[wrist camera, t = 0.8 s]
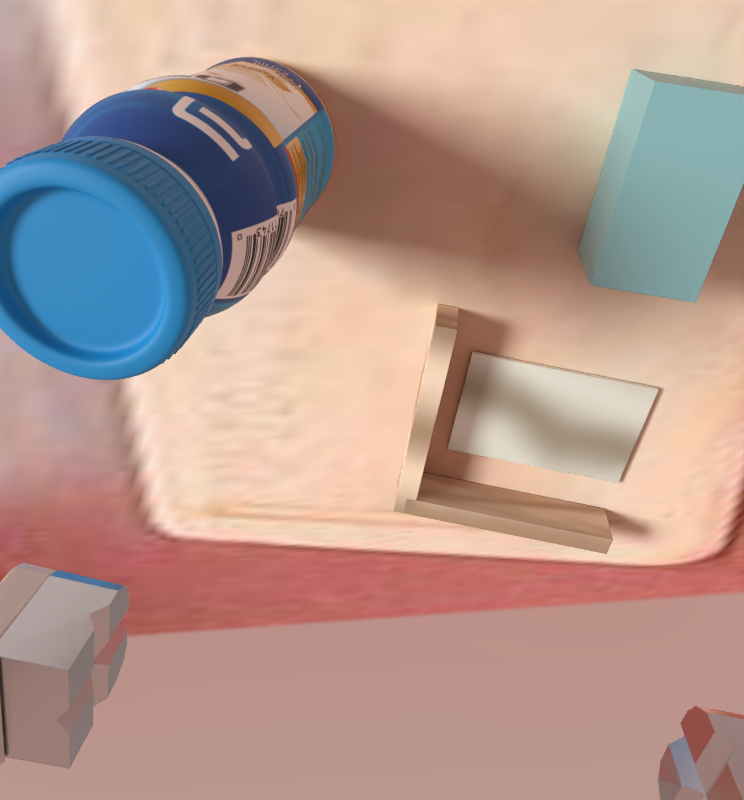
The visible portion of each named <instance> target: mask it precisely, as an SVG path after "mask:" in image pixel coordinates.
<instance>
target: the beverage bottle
mask: <svg viewBox="0 0 744 800" xmlns="http://www.w3.org/2000/svg"><path fill="white" fill-rule="evenodd" d="M334 151H335V146H334V135H333V130H332V125H331V122H330V119H329V116H328V114H327V111H326V109H325V107H324V105H323V103H322V101H321V100H320V98H319V97H318V95H317V94H316V92H315V91H314V90H313V89H312V87H311V86H310V85H309V84H308V83H307V82H306V81H305V80H304V79H303V78H302V77H300V76H299V75H298V74H297V73H295V72H294V71H292V70H291V69H289V68H287V67H285V66H283V65H281V64H279V63H277V62H274V61H271V60H268V59H263V58H257V57H241V58H234V59H230V60H227V61H224V62H221V63H218V64H216V65H214V66H212V67H210V68H208V69H207V70H205V71H202V72H199V73H196V74H193V75H189V76H186V75H171V76H162V77H157V78H153V79H150V80H147V81H144V82H141V83H139V84H137V85H135V86H133V87H131V88H129V89H127V90H126V91H124V92H121V93H118V94H115V95H112V96H110V97H107V98H105V99H103V100H101V101H99V102H98V103H96V104H94V105H93V106H91V107H90V108H89V109H87V110H86V111H85V112H84V113H83V114H82V115H81V116H80V117H79V118H78V119H77V120H76V121H75V122H74V123H73V124H72V125H71V127H70V128H69V129H68V131H67V132H66V134H65V135H64V137H63V139H62V140H61V142H59V143H56V144H52V145H49V146H47V147H44V148H41V149H39V150H36V151H34V152H31V153H28V154H26V155H23V156H21V157H19V158H16V159H14V160H13V161H12V162H9V163H7V164H6V167H3V168H1V169H0V328H1V329H2V330H3V331H4V332H5V333H6V334H7V335H8V336H9V337H10V338H11V339H12V340H13V341H14V342H15V343H16V344H18V345H19V346H20V347H21V348H22V349H24V350H25V351H26V352H28V353H29V354H31V355H32V356H34V357H35V358H37V359H38V360H40V361H42V362H44V363H45V364H47V365H49V366H51V367H54V368H56V369H58V370H61V371H63V372H66V373H69V374H72V375H75V376H79V377H84V378H89V379H98V380H117V379H124V378H129V377H133V376H137V375H140V374H143V373H145V372H147V371H149V370H151V369H153V368H155V367H157V366H158V365H160V364H162V363H164V361H165V360H166V359H170V357H171V356H172V355H173V354H176V352H177V351H178V350H179V349H180V348H181V347H182V346H183V345H184V343H185V342H186V341H187V340H188V338H189V337H190V336H191V335H192V333H193V332H194V331H195V330H196V328H197V327H198V326H199V324H200V323H201V322H202V321H203V319H204V318H205V317H208V316H211V315H214V314H217V313H219V312H221V311H224V310H226V309H228V308H230V307H231V306H233V305H235V304H236V303H238V302H239V301H240V300H242V299H243V298H244V297H245V296H247V295H248V294H249V293H250V292H251V291H252V290H253V289H254V288H255V286H256V285H257V284H258V283H259V281H260V280H261V278H262V277H263V276H264V275H265V274H266V273H267V272H268V271H269V270H270V269H271V268H272V267H273V266H274V265H275V264H276V263H277V261H278V260H279V259H280V257H281V256H282V254H283V253H284V251H285V250H286V248H287V246H288V244H289V242H290V240H291V237H292V235H293V232H294V230H295V229H296V228H297V226H298V225H299V223H300V222H301V220H302V219H303V217H304V216H305V214H306V213H307V211H308V210H309V209H310V207H311V206H312V205H313V204H314V203H315V201H316V200H317V199H318V198H319V196H320V195H321V193H322V192H323V190H324V188H325V187H326V185H327V182H328V180H329V178H330V175H331V171H332V167H333V162H334Z"/></svg>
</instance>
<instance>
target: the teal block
mask: <svg viewBox="0 0 744 800" xmlns="http://www.w3.org/2000/svg"><path fill="white" fill-rule="evenodd" d="M743 184H744V88H743V87H741V86H737V85H731V84H725V83H718V82H712V81H705V80H699V79H693V78H686V77H680V76H674V75H667V74H661V73H654V72H648V71H642V70H635V69H632V70H631V73H630V76H629V80H628V83H627V87H626V90H625V93H624V97H623V100H622V103H621V107H620V110H619V114H618V117H617V120H616V124H615V127H614V130H613V134H612V137H611V141H610V144H609V147H608V151H607V154H606V157H605V161H604V164H603V167H602V171H601V174H600V178H599V181H598V184H597V188H596V191H595V194H594V198H593V201H592V205H591V208H590V211H589V215H588V218H587V221H586V225H585V228H584V232H583V235H582V238H581V242H580V245H579V248H578V255H579V257H580V260H581V262H582V265H583V267H584V270H585V272H586V275H587V277H588V280H589V282H590V285H593V286H599V287H605V288H611V289H617V290H622V291H628V292H634V293H640V294H646V295H652V296H658V297H664V298H670V299H676V300H682V301H688V302H694V303H696V300H697V298H698V295H699V293H700V290H701V288H702V285H703V283H704V281H705V278H706V276H707V273H708V271H709V268H710V266H711V263H712V261H713V258H714V256H715V253H716V251H717V249H718V246H719V244H720V241H721V239H722V236H723V234H724V231H725V229H726V226H727V224H728V221H729V219H730V216H731V214H732V212H733V209H734V207H735V204H736V202H737V199H738V197H739V194H740V192H741V189H742V187H743Z"/></svg>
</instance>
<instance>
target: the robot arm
mask: <svg viewBox="0 0 744 800" xmlns="http://www.w3.org/2000/svg"><path fill="white" fill-rule="evenodd" d="M128 607H129V589H128V588H126V587H125V586H123V585H118V584H114V583H110V582H106V581H102V580H97V579H93V578H89V577H85V576H80V575H76V574H72V573H68V572H64V571H59V570H57V571H56V570H52V569H48V568H43V567H39V566H35V565H31V564H27V563H22V564H20V565H18V566H16V567H14V568H13V569H12V570H11V571H10V572H9V573H8V574H7V575H6V576H5V578H4V579H3V580H2V581H1V582H0V764H2V763H3V762H5V757H7V758H13V759H19V760H24V761H30V762H36V763H41V764H47V765H52V766H58V767H64V768H70V767H71V765H72V763H73V761H74V760H75V758H76V756H77V754H78V752H79V750H80V748H81V746H82V745H83V743H84V741H85V739H86V737H87V735H88V734H89V732H90V730H91V728H92V726H93V706H95V705H97V704H98V703H100V702H102V701H103V700H105V699H107V698H108V696H109V694H110V692H111V690H112V688H113V686H114V684H115V682H116V680H117V677H118V675H119V672H120V669H121V666H122V663H123V661H124V656H125V651H126V646H127V634H128V630H127V629H126V627H125V626H124V625H123V623H122V622H121V620H122V618H123V616H124V614H125V613H126V611H127V609H128ZM681 725H682V729H683V731H684V735H685V736H684V737H682V738H680V739H678V740H676V741H675V742H672V743H671V744H669V745H668V747H667V749H666V751H665V753H664V755H663V757H662V759H661V762H660V770H659V778H658V784H659V792H660V799H661V800H744V715H740V714H735V713H730V712H725V711H720V710H715V709H710V708H705V707H700V706H695V707H693V708H692V709H690V710H689V711H687V713H686V715H685V717H684V718H683V720H682V722H681Z"/></svg>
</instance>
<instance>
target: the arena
mask: <svg viewBox="0 0 744 800" xmlns="http://www.w3.org/2000/svg"><path fill="white" fill-rule="evenodd" d="M457 330H458V308H456V307H451V306H446V305H440V304H438V305H437V310H436V314H435V319H434V323H433V328H432V332H431V337H430V341H429V346H428V350H427V355H426V359H425V364H424V368H423V373H422V377H421V382H420V386H419V391H418V395H417V400H416V404H415V409H414V413H413V418H412V422H411V427H410V431H409V436H408V440H407V445H406V449H405V454H404V458H403V463H402V467H401V472H400V476H399V481H398V487H397V494H396V501H395V507H394V511H396V512H401V513H406V514H411V515H415V516H420V517H425V518H430V519H435V520H440V521H445V522H450V523H455V524H460V525H465V526H470V527H475V528H480V529H485V530H490V531H495V532H500V533H505V534H510V535H515V536H520V537H525V538H530V539H535V540H540V541H545V542H550V543H555V544H560V545H565V546H570V547H575V548H580V549H585V550H590V551H595V552H599V553H604V554H607V552H608V550H609V547H610V545H611V543H612V541H613V538H612V534H611V531H610V527H609V523H608V519H607V515H606V511H605V509H603V508H598V507H593V506H588V505H583V504H578V503H573V502H568V501H563V500H558V499H553V498H548V497H543V496H538V495H533V494H528V493H523V492H518V491H513V490H508V489H503V488H498V487H493V486H488V485H483V484H478V483H473V482H468V481H463V480H458V479H453V478H448V477H443V476H438V475H433V474H428V473H423V470H424V466H425V462H426V458H427V454H428V450H429V445H430V441H431V437H432V433H433V429H434V425H435V421H436V417H437V413H438V408H439V404H440V400H441V396H442V392H443V388H444V384H445V380H446V376H447V371H448V367H449V363H450V359H451V355H452V351H453V347H454V343H455V339H456V334H457ZM658 390H659V389H658V387H654V386H649V385H644V384H639V383H634V382H629V381H624V380H618V379H613V378H608V377H603V376H598V375H593V374H588V373H583V372H577V371H572V370H567V369H562V368H557V367H552V366H547V365H542V364H536V363H531V362H526V361H521V360H516V359H511V358H506V357H501V356H495V355H490V354H485V353H480V352H475V351H472V355H471V359H470V363H469V367H468V370H467V374H466V378H465V382H464V386H463V390H462V393H461V397H460V401H459V405H458V409H457V413H456V416H455V420H454V424H453V428H452V432H451V436H450V439H449V443H448V449H449V450H454V451H459V452H464V453H469V454H474V455H479V456H484V457H489V458H494V459H499V460H504V461H509V462H514V463H519V464H524V465H529V466H534V467H539V468H544V469H549V470H554V471H559V472H564V473H569V474H575V475H580V476H585V477H590V478H595V479H600V480H605V481H610V482H615V483H618V482H619V480H620V478H621V475H622V473H623V471H624V468H625V466H626V464H627V461H628V459H629V457H630V455H631V452H632V450H633V448H634V445H635V443H636V441H637V438H638V436H639V434H640V431H641V429H642V427H643V425H644V422H645V420H646V418H647V415H648V413H649V411H650V408H651V406H652V404H653V402H654V399H655V397H656V395H657V392H658Z"/></svg>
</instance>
